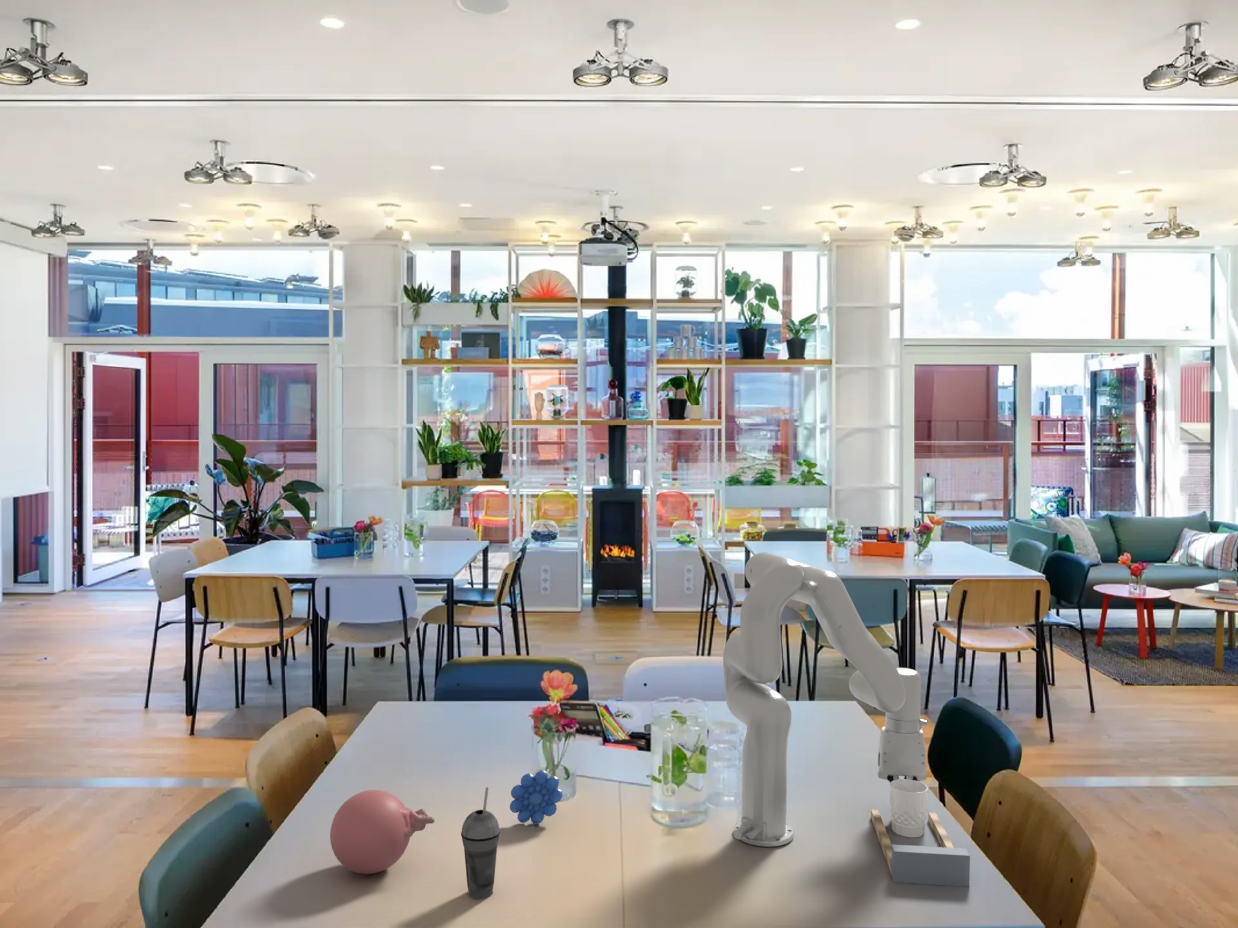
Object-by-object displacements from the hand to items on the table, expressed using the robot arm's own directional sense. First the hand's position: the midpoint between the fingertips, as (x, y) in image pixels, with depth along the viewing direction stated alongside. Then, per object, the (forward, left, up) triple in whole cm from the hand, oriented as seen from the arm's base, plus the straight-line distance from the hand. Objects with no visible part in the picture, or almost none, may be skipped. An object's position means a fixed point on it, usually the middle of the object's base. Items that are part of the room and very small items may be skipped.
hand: (901, 804), depth 210 cm
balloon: (-88, +72, -3) cm, 114 cm away
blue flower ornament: (-53, +63, -3) cm, 82 cm away
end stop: (-26, -15, -3) cm, 31 cm away
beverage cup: (-83, +50, -3) cm, 97 cm away
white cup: (-7, -4, -3) cm, 9 cm away
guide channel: (-14, -8, -3) cm, 16 cm away
